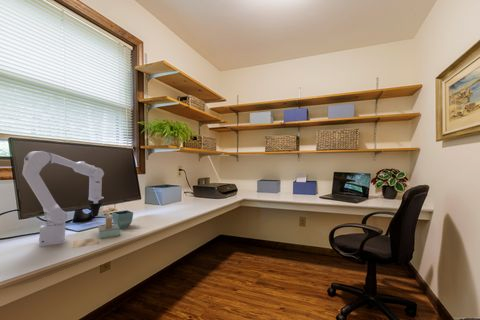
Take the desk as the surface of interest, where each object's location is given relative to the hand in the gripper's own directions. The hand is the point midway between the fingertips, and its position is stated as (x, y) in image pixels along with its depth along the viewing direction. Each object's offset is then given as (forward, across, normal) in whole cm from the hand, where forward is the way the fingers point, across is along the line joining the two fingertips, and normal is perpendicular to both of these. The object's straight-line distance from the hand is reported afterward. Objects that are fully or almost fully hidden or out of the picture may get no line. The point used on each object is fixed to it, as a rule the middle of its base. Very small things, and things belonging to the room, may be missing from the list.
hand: (94, 214), depth 122 cm
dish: (+10, -8, -6) cm, 14 cm away
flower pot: (+10, +3, -14) cm, 18 cm away
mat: (+10, -15, +4) cm, 18 cm away
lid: (+6, -8, -6) cm, 12 cm away
